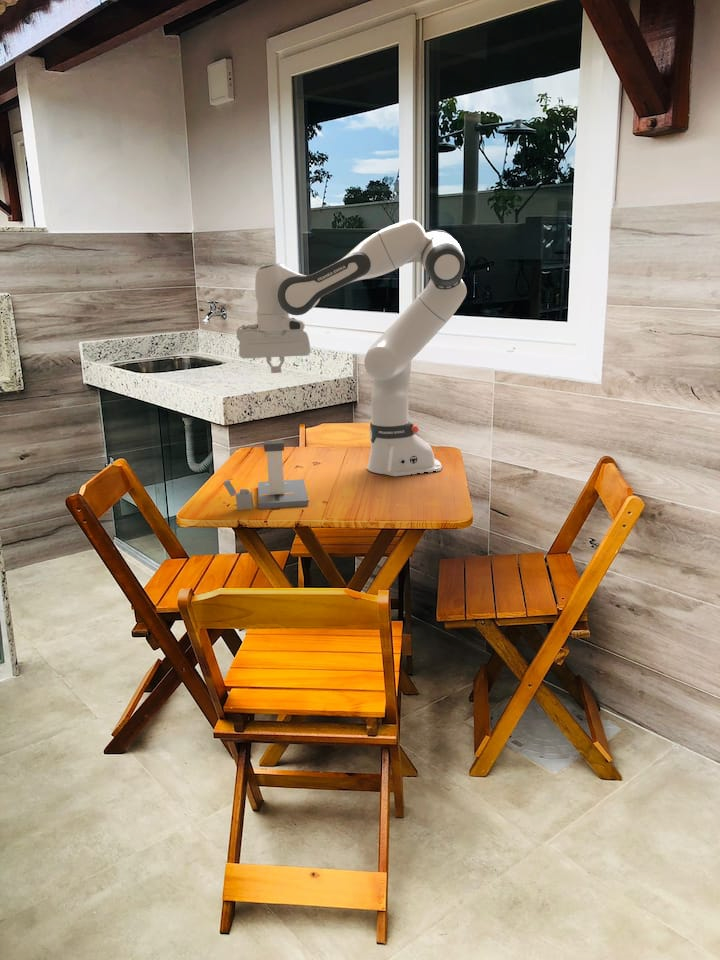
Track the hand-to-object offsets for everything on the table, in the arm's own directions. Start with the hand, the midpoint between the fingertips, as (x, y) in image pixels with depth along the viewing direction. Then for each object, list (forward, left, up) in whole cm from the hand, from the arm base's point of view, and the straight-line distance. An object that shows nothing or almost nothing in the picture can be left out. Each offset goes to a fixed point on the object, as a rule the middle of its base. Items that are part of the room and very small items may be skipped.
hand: (276, 372), depth 226 cm
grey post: (+2, +22, -29) cm, 36 cm away
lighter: (+12, +28, -31) cm, 44 cm away
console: (+1, +19, -31) cm, 36 cm away
